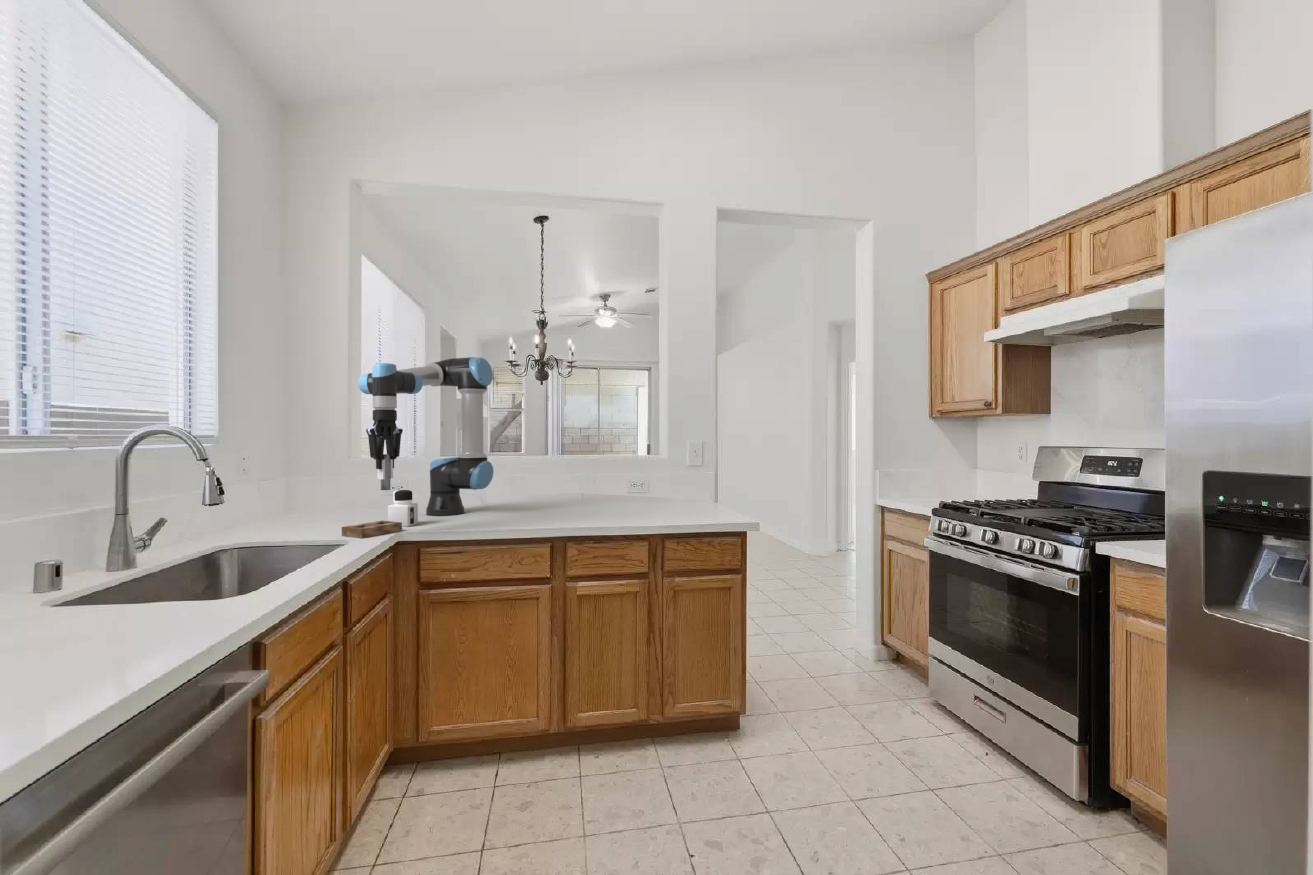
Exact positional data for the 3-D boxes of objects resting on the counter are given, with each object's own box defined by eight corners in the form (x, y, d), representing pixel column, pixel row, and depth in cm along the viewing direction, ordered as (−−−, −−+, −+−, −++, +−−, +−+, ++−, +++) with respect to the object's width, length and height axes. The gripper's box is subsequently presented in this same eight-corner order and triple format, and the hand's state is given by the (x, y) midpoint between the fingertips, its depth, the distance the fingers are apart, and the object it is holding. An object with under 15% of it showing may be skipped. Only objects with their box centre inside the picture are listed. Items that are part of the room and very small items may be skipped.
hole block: (382, 528, 223) (382, 520, 223) (402, 530, 218) (401, 522, 218) (341, 535, 209) (341, 527, 209) (361, 538, 204) (361, 529, 204)
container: (418, 523, 234) (417, 489, 234) (408, 527, 227) (407, 491, 227) (398, 523, 235) (398, 489, 235) (387, 526, 228) (387, 491, 227)
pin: (386, 489, 214) (385, 454, 214) (392, 489, 212) (392, 454, 212) (378, 490, 211) (378, 454, 211) (385, 490, 210) (384, 454, 210)
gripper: (395, 410, 220) (396, 476, 220) (357, 408, 206) (357, 479, 206) (411, 409, 217) (411, 477, 217) (373, 408, 203) (373, 480, 203)
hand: (385, 478), depth 212 cm, fingers closed on pin, 2 cm apart
